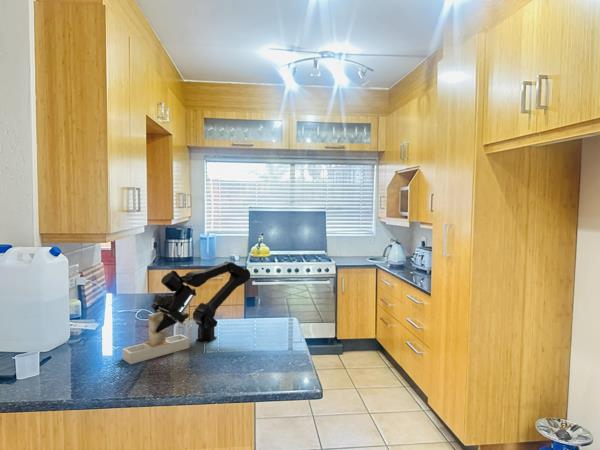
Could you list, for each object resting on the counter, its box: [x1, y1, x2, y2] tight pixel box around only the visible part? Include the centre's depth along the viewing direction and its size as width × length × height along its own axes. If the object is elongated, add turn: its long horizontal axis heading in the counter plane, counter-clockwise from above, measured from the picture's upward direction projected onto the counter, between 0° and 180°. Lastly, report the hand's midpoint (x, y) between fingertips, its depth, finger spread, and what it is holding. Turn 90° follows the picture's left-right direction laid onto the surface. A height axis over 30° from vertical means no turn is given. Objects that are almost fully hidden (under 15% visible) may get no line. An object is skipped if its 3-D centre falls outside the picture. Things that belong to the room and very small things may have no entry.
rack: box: [121, 333, 190, 365], centre depth 157 cm, size 24×7×4 cm, turn 136°
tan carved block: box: [148, 312, 167, 347], centre depth 157 cm, size 5×4×13 cm
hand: (153, 330), depth 156 cm, fingers closed on tan carved block, 4 cm apart
